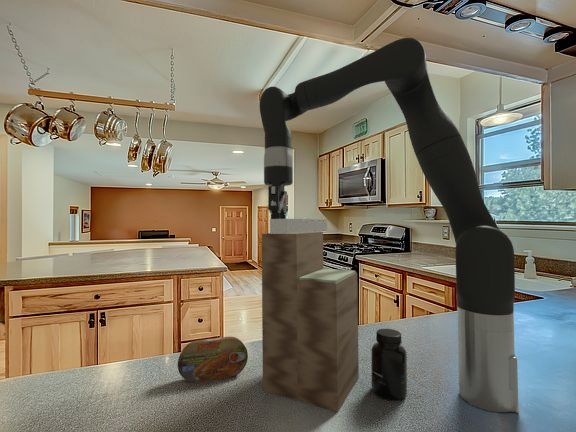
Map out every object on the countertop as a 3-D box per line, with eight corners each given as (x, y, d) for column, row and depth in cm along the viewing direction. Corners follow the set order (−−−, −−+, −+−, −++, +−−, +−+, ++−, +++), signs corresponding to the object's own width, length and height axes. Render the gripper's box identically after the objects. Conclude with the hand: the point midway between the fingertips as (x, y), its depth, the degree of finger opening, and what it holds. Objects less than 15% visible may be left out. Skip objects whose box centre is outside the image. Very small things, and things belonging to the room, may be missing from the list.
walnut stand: (358, 377, 68) (356, 232, 69) (337, 412, 56) (335, 234, 57) (293, 363, 76) (292, 231, 77) (262, 390, 63) (261, 233, 64)
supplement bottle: (368, 396, 61) (367, 334, 61) (375, 380, 67) (374, 324, 67) (405, 405, 58) (403, 340, 58) (409, 388, 64) (408, 329, 64)
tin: (177, 385, 66) (177, 345, 66) (178, 378, 69) (178, 340, 69) (248, 375, 70) (247, 337, 70) (246, 369, 73) (246, 333, 73)
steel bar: (327, 231, 81) (326, 219, 81) (287, 233, 61) (287, 218, 62) (312, 230, 83) (312, 219, 83) (269, 233, 63) (269, 218, 63)
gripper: (288, 160, 74) (288, 229, 74) (295, 170, 88) (296, 228, 88) (257, 162, 75) (258, 229, 75) (269, 171, 89) (270, 228, 89)
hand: (278, 228), depth 81 cm, fingers open, 8 cm apart
